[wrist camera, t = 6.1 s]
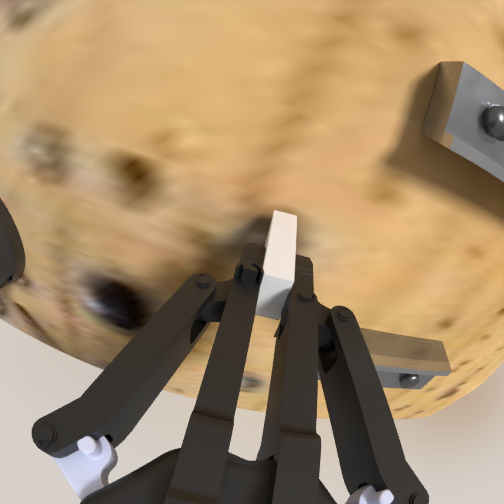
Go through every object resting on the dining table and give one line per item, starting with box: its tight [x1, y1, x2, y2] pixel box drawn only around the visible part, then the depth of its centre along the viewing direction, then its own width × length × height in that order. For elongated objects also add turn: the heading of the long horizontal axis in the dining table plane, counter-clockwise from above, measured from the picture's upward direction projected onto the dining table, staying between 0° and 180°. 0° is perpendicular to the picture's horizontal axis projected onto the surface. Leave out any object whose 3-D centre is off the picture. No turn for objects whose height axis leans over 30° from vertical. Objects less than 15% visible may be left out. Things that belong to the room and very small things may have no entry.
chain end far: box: [318, 328, 452, 389], centre depth 25 cm, size 14×6×4 cm, turn 79°
